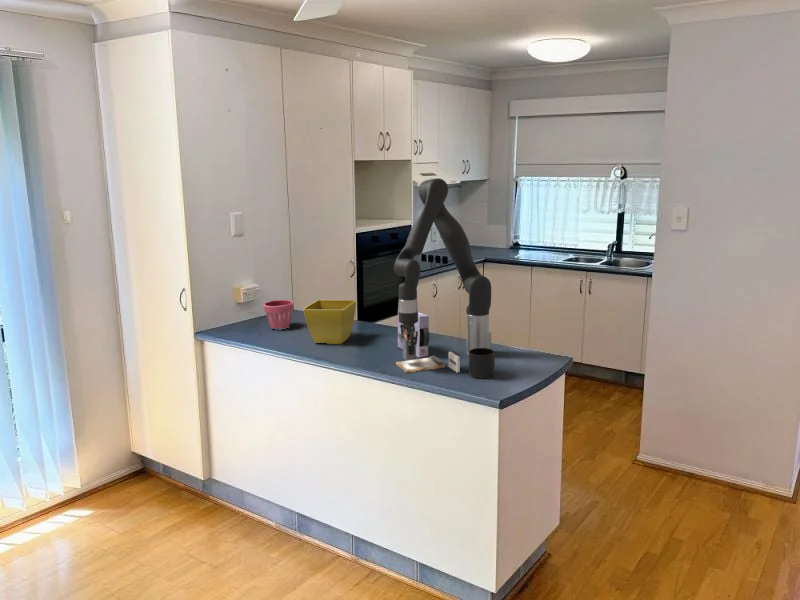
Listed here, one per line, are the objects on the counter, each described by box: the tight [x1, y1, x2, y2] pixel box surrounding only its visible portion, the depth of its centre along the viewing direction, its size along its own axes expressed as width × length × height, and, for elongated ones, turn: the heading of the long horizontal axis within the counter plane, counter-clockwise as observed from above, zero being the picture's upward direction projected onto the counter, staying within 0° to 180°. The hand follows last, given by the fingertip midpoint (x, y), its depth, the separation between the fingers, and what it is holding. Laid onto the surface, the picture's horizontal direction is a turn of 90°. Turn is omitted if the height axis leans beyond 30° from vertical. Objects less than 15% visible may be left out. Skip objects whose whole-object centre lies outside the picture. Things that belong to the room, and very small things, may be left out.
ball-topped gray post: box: [402, 334, 417, 361], centre depth 252 cm, size 4×4×10 cm
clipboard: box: [395, 355, 446, 374], centre depth 254 cm, size 16×12×2 cm
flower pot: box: [302, 299, 357, 345], centre depth 292 cm, size 19×19×17 cm
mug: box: [468, 348, 496, 380], centre depth 242 cm, size 9×12×9 cm
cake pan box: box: [397, 307, 430, 359], centre depth 271 cm, size 19×5×18 cm, turn 30°
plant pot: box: [263, 299, 295, 329], centre depth 318 cm, size 14×14×13 cm
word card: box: [448, 351, 461, 374], centre depth 248 cm, size 1×8×6 cm, turn 19°
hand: (409, 352), depth 253 cm, fingers closed on ball-topped gray post, 4 cm apart
